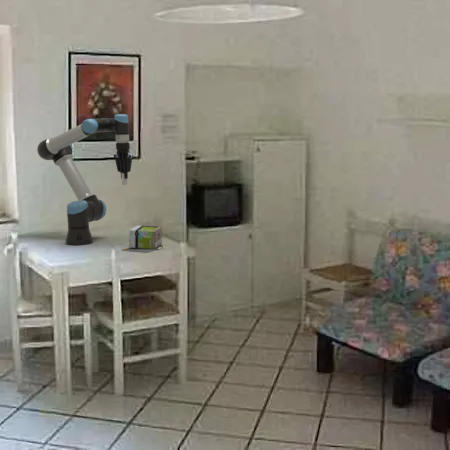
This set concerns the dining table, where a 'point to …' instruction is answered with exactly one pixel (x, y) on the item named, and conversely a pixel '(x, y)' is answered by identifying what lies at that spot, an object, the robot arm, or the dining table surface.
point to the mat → (141, 250)
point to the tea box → (145, 237)
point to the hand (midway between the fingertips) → (124, 184)
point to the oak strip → (126, 249)
